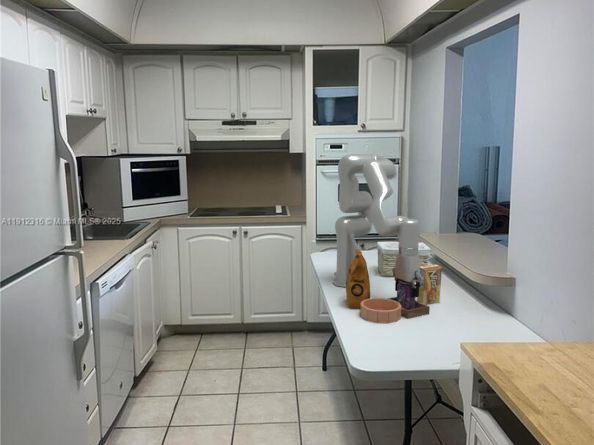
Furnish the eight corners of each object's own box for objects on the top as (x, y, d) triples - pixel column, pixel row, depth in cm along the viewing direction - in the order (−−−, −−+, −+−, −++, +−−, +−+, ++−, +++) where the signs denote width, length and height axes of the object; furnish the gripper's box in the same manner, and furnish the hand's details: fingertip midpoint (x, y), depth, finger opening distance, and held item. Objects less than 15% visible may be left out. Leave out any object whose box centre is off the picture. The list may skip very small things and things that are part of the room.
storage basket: (421, 269, 256) (422, 241, 253) (430, 278, 240) (432, 248, 237) (375, 269, 255) (376, 241, 253) (380, 278, 239) (382, 248, 237)
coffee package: (343, 308, 197) (345, 254, 193) (346, 298, 209) (347, 247, 205) (369, 310, 195) (371, 256, 191) (370, 300, 207) (372, 248, 203)
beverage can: (394, 307, 199) (395, 278, 197) (411, 306, 199) (412, 278, 197) (399, 313, 192) (400, 283, 190) (417, 313, 192) (418, 283, 190)
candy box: (433, 299, 209) (435, 264, 206) (440, 302, 205) (442, 266, 202) (416, 302, 205) (418, 266, 202) (423, 305, 201) (425, 268, 198)
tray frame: (382, 306, 200) (382, 299, 199) (404, 302, 205) (404, 295, 204) (406, 318, 187) (407, 311, 186) (429, 314, 192) (429, 306, 191)
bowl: (352, 312, 193) (353, 301, 192) (384, 306, 199) (384, 295, 199) (376, 325, 180) (376, 313, 179) (408, 319, 186) (409, 307, 186)
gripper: (386, 247, 197) (385, 289, 200) (415, 256, 182) (414, 301, 185) (401, 246, 201) (400, 286, 203) (431, 254, 185) (429, 298, 188)
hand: (406, 293), depth 194 cm, fingers open, 9 cm apart
